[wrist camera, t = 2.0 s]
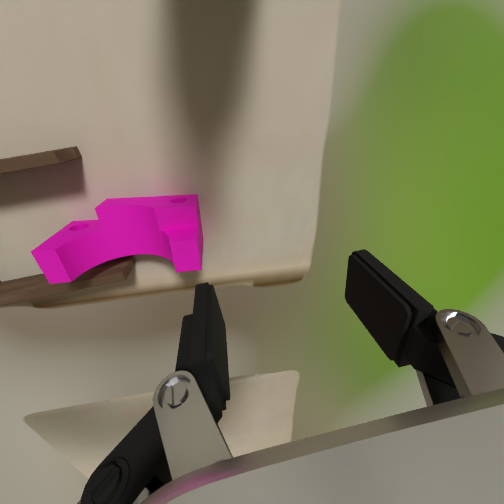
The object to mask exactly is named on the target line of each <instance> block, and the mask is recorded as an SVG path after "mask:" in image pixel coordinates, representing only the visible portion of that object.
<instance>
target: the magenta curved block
mask: <svg viewBox="0 0 504 504" xmlns="http://www.w3.org/2000/svg"><path fill="white" fill-rule="evenodd" d="M95 210H96V213H97V216H98V218H99V220H86V221H72V222H71V223H70V224H68V225H67V226H65V227H64V228H63V229H61V230H60V231H59V232H57V233H56V234H54V235H53V236H52V237H50V238H49V239H48V240H46V241H45V242H43V243H42V244H41V245H39V246H38V247H37V248H35V249H34V250H33V251H31V253H32V255H33V256H34V258H35V260H36V261H37V263H38V265H39V267H40V268H41V270H42V272H43V273H44V275H45V277H46V278H47V280H48V282H49V283H50V284H53V283H64V282H72V281H73V280H74V279H75V278H77V277H78V276H79V275H81V274H82V273H84V272H85V271H87V270H89V269H91V268H93V267H95V266H97V265H99V264H101V263H104V262H106V261H109V260H112V259H116V258H119V257H124V256H129V255H137V254H152V255H158V256H162V257H165V258H167V259H169V260H170V261H171V262H172V263H173V264H174V266H175V270H176V272H184V271H195V270H201V267H202V252H203V233H202V225H201V218H200V210H199V202H198V195H177V196H156V197H135V198H114V199H106V200H105V201H104V202H102V203H101V204H100V205H98V206H97V207H96V208H95Z"/></svg>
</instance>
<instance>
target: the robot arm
mask: <svg viewBox="0 0 504 504" xmlns="http://www.w3.org/2000/svg"><path fill="white" fill-rule="evenodd" d="M345 299H346V301H347V303H348V304H349V306H350V307H351V308H352V310H353V311H354V312H355V314H356V315H357V316H358V318H359V319H360V321H361V322H362V323H363V325H364V326H365V327H366V329H367V330H368V331H369V333H370V334H371V335H372V337H373V338H374V339H375V341H376V342H377V343H378V345H379V346H380V348H381V349H382V350H383V352H384V353H385V354H386V356H387V357H388V358H389V359H390V360H394V361H395V363H396V364H397V365H398V367H402V366H406V365H410V364H411V365H412V366H413V368H414V369H416V373H417V376H418V379H419V382H420V385H421V389H422V392H423V395H424V398H425V401H426V404H427V407H424V408H420V409H416V410H412V411H409V412H405V413H401V414H397V415H393V416H389V417H386V418H382V419H377V420H373V421H369V422H366V423H362V424H358V425H354V426H350V427H346V428H342V429H338V430H335V431H331V432H327V433H323V434H319V435H316V436H312V437H308V438H304V439H300V440H297V441H293V442H289V443H285V444H281V445H277V446H274V447H270V448H266V449H262V450H259V451H255V452H252V453H248V454H245V455H241V456H238V457H234V458H233V456H232V454H231V452H230V449H229V447H228V445H227V443H226V441H225V439H224V437H223V434H222V432H221V430H220V428H219V426H218V424H217V423H218V422H219V420H220V419H221V417H222V410H226V401H227V400H230V387H229V373H228V357H227V342H226V328H225V323H224V320H223V316H222V313H221V309H220V306H219V303H218V299H217V296H216V293H215V290H214V286H213V285H209V284H208V282H207V283H202V284H198V285H196V288H195V298H194V308H193V314H190V315H186V316H184V317H183V321H182V328H181V335H180V342H179V349H178V356H177V363H176V369H175V372H173V373H172V374H169V375H168V376H167V377H165V378H164V379H163V380H162V381H161V382H160V384H159V385H158V387H157V388H156V390H155V392H154V397H153V407H152V408H151V409H150V410H149V411H148V413H147V414H146V415H145V416H144V417H143V418H142V419H141V420H140V421H139V422H138V423H137V425H136V426H135V427H134V428H133V429H132V430H131V431H130V432H129V433H128V434H127V435H126V436H125V438H124V439H123V440H122V441H121V442H120V443H119V444H118V445H117V446H116V447H115V448H114V449H113V451H112V452H111V453H110V454H109V455H108V456H107V457H106V458H105V459H104V460H103V461H102V463H101V464H100V465H99V466H98V467H97V468H96V470H95V471H94V472H93V473H92V475H91V476H90V478H89V480H88V482H87V484H86V485H85V488H84V491H83V494H82V497H81V500H80V501H79V502H78V503H77V504H504V337H502V336H499V335H496V334H492V333H490V332H489V331H488V329H487V328H486V327H485V325H484V324H483V323H482V322H481V321H480V320H478V319H477V318H475V317H474V316H472V315H470V314H468V313H465V312H462V311H460V310H454V309H444V310H440V311H439V312H437V311H436V310H435V309H434V308H433V306H432V305H431V304H430V303H429V302H427V301H426V300H425V299H424V298H423V297H421V296H420V295H419V294H418V293H417V292H416V291H414V290H413V289H412V288H411V287H410V286H408V285H407V284H406V283H405V282H404V281H402V280H401V279H400V278H399V277H398V276H397V275H396V274H394V273H393V272H392V271H391V270H389V269H388V268H387V267H386V266H385V265H384V264H382V263H381V262H380V261H379V260H378V259H376V258H375V257H374V256H373V255H372V254H371V253H369V252H368V251H367V250H359V251H354V252H353V253H352V255H350V256H349V259H348V269H347V279H346V290H345Z"/></svg>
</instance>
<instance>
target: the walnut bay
mask: <svg viewBox="0 0 504 504" xmlns="http://www.w3.org/2000/svg"><path fill="white" fill-rule="evenodd" d="M79 157H82V156H81V154H80V152H79V150H78V148H77V146H76V147H70V148H64V149H58V150H52V151H46V152H41V153H35V154H29V155H23V156H17V157H11V158H5V159H0V173H5V172H11V171H16V170H22V169H28V168H34V167H39V166H45V165H51V164H57V163H61V162H65V161H68V160H72V159H75V158H79ZM134 264H135V260H134V258H133V256H129V257H124V258H119V259H114V260H109V261H106V262H104V263H101V264H99V265H97V266H95V267H93V268H91V269H89V270H87V271H85V272H84V273H82V274H81V275H79V276H78V277H77V278H75V279H74V280H73V281H72V282H64V283H53V284H50V283H49V282H48V280H47V278H46V277H45V275H44V274H39V275H34V276H29V277H24V278H19V279H14V280H9V281H4V282H1V281H0V305H5V304H10V303H15V302H20V301H25V300H29V299H34V298H39V297H44V296H49V295H54V294H59V293H63V292H68V291H73V290H78V289H83V288H88V287H92V286H97V285H102V284H107V283H112V282H117V281H122V280H126V278H127V277H128V275H129V273H130V271H131V269H132V267H133V265H134Z"/></svg>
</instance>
